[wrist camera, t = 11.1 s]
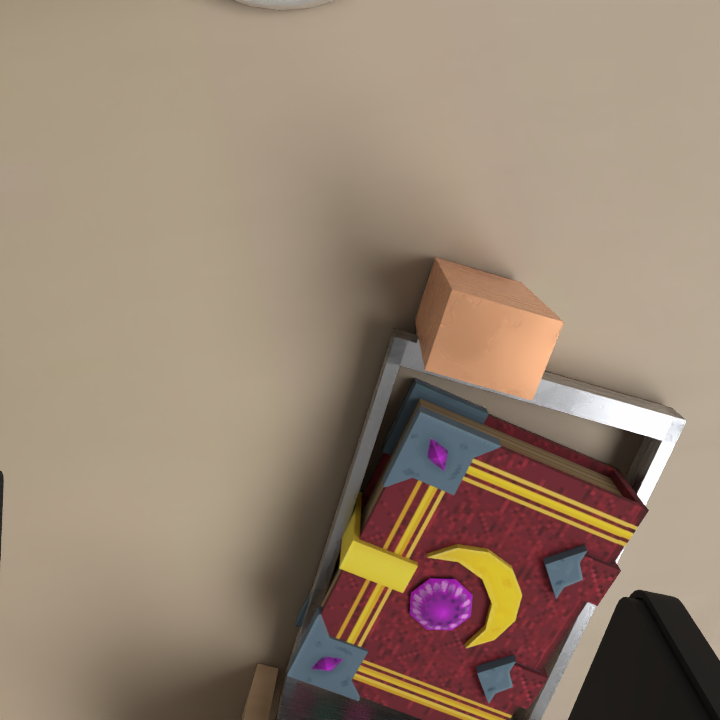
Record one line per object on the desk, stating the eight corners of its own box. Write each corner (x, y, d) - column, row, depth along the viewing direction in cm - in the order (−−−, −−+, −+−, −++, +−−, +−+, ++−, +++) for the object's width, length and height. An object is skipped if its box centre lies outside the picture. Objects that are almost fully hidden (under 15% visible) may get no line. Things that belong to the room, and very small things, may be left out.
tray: (418, 251, 28) (429, 282, 22) (705, 337, 29) (802, 392, 22) (283, 676, 36) (261, 797, 29) (515, 735, 37) (545, 865, 30)
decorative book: (621, 463, 32) (663, 518, 27) (473, 696, 37) (487, 778, 32) (412, 374, 31) (418, 415, 26) (288, 627, 36) (274, 700, 31)
